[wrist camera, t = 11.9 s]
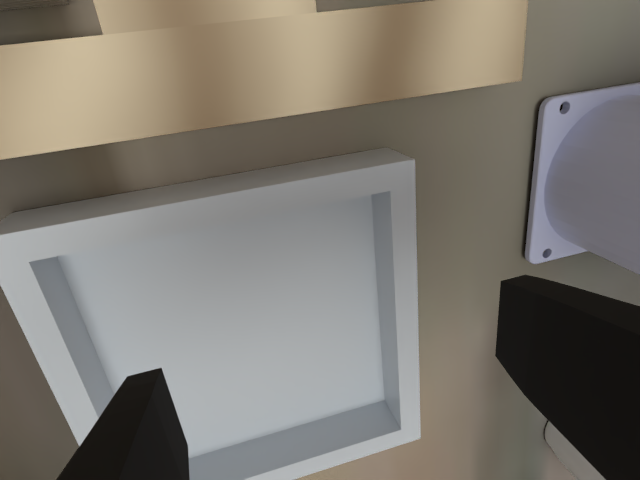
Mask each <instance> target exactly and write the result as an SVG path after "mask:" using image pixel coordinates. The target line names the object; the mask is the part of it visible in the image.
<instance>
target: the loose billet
mask: <svg viewBox="0 0 640 480" xmlns="http://www.w3.org/2000/svg"><path fill="white" fill-rule="evenodd" d="M68 4H69V3H68V0H0V11H4V10H15V9H25V8H36V7H46V6H57V5H68Z"/></svg>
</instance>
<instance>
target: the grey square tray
mask: <svg viewBox="0 0 640 480" xmlns="http://www.w3.org/2000/svg"><path fill="white" fill-rule="evenodd" d="M0 285H1V287H2V289H3V291H4V293H5V295H6V297H7V299H8V302H9V304H10V306H11V308H12V310H13V312H14V314H15V316H16V318H17V320H18V322H19V324H20V326H21V328H22V330H23V332H24V334H25V336H26V338H27V340H28V342H29V344H30V346H31V348H32V351H33V353H34V355H35V357H36V359H37V361H38V363H39V365H40V367H41V369H42V371H43V373H44V375H45V377H46V379H47V381H48V383H49V385H50V387H51V389H52V391H53V393H54V395H55V397H56V399H57V402H58V404H59V406H60V408H61V410H62V412H63V414H64V416H65V418H66V420H67V422H68V424H69V426H70V428H71V430H72V432H73V434H74V436H75V438H76V440H77V442H78V444H79V446H80V445H81V444H82V442H83V441H84V439H85V438H86V436H87V435H88V433H89V432H90V430H91V429H92V427H93V426H94V424H95V423H96V422H97V420H98V419H99V417H100V416H101V414H102V413H103V411H104V410H105V408H106V407H107V405H108V404H109V402H110V401H111V399H112V398H113V396H114V395H115V393H116V392H117V390H118V389H119V387H120V386H121V384H122V383H123V382H124V380H125V379H126V377H127V376H131V375H134V374H138V373H142V372H146V371H150V370H154V369H158V368H162V371H163V374H164V377H165V380H166V383H167V386H168V389H169V391H170V394H171V397H172V400H173V403H174V406H175V409H176V412H177V415H178V418H179V421H180V424H181V427H182V430H183V433H184V436H185V438H186V441H187V444H188V456H189V478H190V480H294V479H297V478H300V477H303V476H306V475H309V474H312V473H315V472H318V471H321V470H325V469H328V468H331V467H334V466H337V465H340V464H343V463H346V462H349V461H352V460H355V459H359V458H362V457H365V456H368V455H371V454H374V453H377V452H380V451H383V450H386V449H389V448H392V447H396V446H399V445H402V444H405V443H408V442H411V441H414V440H417V439H420V438H421V437H420V386H419V335H418V284H417V233H416V182H415V159H414V158H411V157H409V156H406V155H404V154H402V153H399V152H397V151H395V150H392V149H390V148H388V147H385V148H380V149H374V150H368V151H362V152H357V153H351V154H345V155H339V156H334V157H328V158H322V159H316V160H311V161H305V162H299V163H294V164H288V165H282V166H276V167H271V168H265V169H259V170H253V171H248V172H242V173H236V174H230V175H225V176H219V177H213V178H208V179H202V180H196V181H190V182H185V183H179V184H173V185H167V186H162V187H156V188H150V189H144V190H139V191H133V192H127V193H122V194H116V195H110V196H104V197H99V198H93V199H87V200H81V201H76V202H70V203H64V204H58V205H53V206H47V207H41V208H36V209H30V210H24V211H18V212H13V213H11V214H10V215H8V216H7V217H6V218H4V219H3V220H2V221H1V222H0Z"/></svg>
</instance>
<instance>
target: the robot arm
mask: <svg viewBox="0 0 640 480" xmlns="http://www.w3.org/2000/svg"><path fill="white" fill-rule="evenodd" d="M562 103H563V108H562V110H561V111H560V106H561V104H562ZM544 251H545V252H544ZM586 251H590V252H592V253H594V254H596V255H598V256H601V257H603V258H605V259H607V260H609V261H611V262H613V263H615V264H617V265H620V266H622V267H624V268H626V269H628V270H630V271H632V272H634V273H637V274H639V275H640V82H638V83H632V84H626V85H620V86H613V87H607V88H601V89H595V90H589V91H583V92H577V93H570V94H564V95H558V96H552V97H548V98H546V99H545V100H544V101H543V102H542V104H541V105H540V109H539V116H538V126H537V136H536V147H535V157H534V167H533V177H532V187H531V198H530V208H529V218H528V228H527V238H526V249H525V258H526V260H527V261H529V262H530V263H532V264H538V263H542V262H546V261H550V260H554V259H558V258H562V257H566V256H570V255H574V254H578V253H582V252H586ZM543 252H544V253H543ZM495 356H496V357H497V359H498V360H499V361H500V363H501V364H502V366H503V367H504V368H505V370H506V371H507V373H508V374H509V375H510V377H511V378H512V379H513V381H514V382H515V383H516V385H517V386H518V387H519V388H520V390H521V391H522V392H523V394H524V395H525V396H526V397H527V398H528V399H529V400H530V401H531V402H532V403H533V405H534V406H535V407H536V408H537V409H538V410H539V411H540V412H541V413H542V414H543V415H544V416H545V417H546V418H547V419H548V420H549V421H550V423H551V424H552V425H553V426H554V427H555V428H556V429H557V430H558V431H559V432H560V433H561V434H562V435H563V436H564V437H565V438H566V439H567V440H568V441H569V442H570V443H571V444H572V445H573V446H574V447H575V448H576V449H577V450H578V452H579V453H580V454H581V455H582V456H583V457H584V458H585V459H586V460H587V461H588V462H589V463H590V464H591V465H592V466H593V467H594V468H595V469H596V470H597V471H598V472H599V473H600V474H601V475H602V476H603V477H604V478H605V479H606V480H640V306H636V305H633V304H629V303H626V302H623V301H619V300H616V299H613V298H609V297H606V296H602V295H599V294H596V293H592V292H589V291H585V290H582V289H579V288H575V287H572V286H568V285H565V284H561V283H558V282H554V281H550V280H546V279H542V278H538V277H533V276H528V275H523V276H519V277H515V278H511V279H507V280H503V281H501V288H500V301H499V315H498V328H497V342H496V355H495ZM56 480H190V478H189V456H188V444H187V441H186V438H185V436H184V433H183V430H182V427H181V424H180V421H179V418H178V415H177V412H176V409H175V406H174V403H173V400H172V397H171V394H170V391H169V389H168V386H167V383H166V380H165V377H164V374H163V371H162V368H158V369H154V370H150V371H146V372H142V373H138V374H134V375H131V376H127V377H126V379H125V380H124V382H123V383H122V384H121V386H120V387H119V389H118V390H117V392H116V393H115V395H114V396H113V398H112V399H111V401H110V402H109V404H108V405H107V407H106V408H105V410H104V411H103V413H102V414H101V416H100V417H99V419H98V420H97V422H96V423H95V424H94V426H93V427H92V429H91V430H90V432H89V433H88V435H87V436H86V438H85V439H84V441H83V442H82V444H81V445H80V447H79V448H78V449H77V451H76V452H75V454H74V455H73V457H72V458H71V459H70V461H69V462H68V464H67V465H66V467H65V468H64V469H63V471H62V472H61V474H60V475H59V477H58V478H57V479H56Z"/></svg>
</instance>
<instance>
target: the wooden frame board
mask: <svg viewBox="0 0 640 480" xmlns="http://www.w3.org/2000/svg"><path fill="white" fill-rule="evenodd" d="M93 2H94V5H95V8H96V12H97V15H98V19H99V22H100V26H101V29H102V32H103V35H97V36H88V37H78V38H68V39H59V40H49V41H40V42H30V43H21V44H11V45H1V46H0V160H1V159H8V158H15V157H21V156H28V155H34V154H41V153H48V152H54V151H61V150H67V149H74V148H81V147H87V146H94V145H100V144H107V143H114V142H120V141H127V140H133V139H140V138H147V137H153V136H160V135H166V134H173V133H179V132H186V131H193V130H199V129H206V128H212V127H219V126H226V125H232V124H239V123H245V122H252V121H259V120H265V119H272V118H278V117H285V116H292V115H298V114H305V113H311V112H318V111H325V110H331V109H338V108H344V107H351V106H358V105H364V104H371V103H377V102H384V101H391V100H397V99H404V98H410V97H417V96H424V95H430V94H437V93H443V92H450V91H457V90H463V89H470V88H476V87H483V86H490V85H496V84H503V83H509V82H516V81H522V72H523V59H524V46H525V34H526V21H527V9H528V0H433V1H423V2H414V3H404V4H394V5H385V6H375V7H366V8H356V9H347V10H337V11H327V12H318V13H317V10H316V1H315V0H93Z"/></svg>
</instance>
